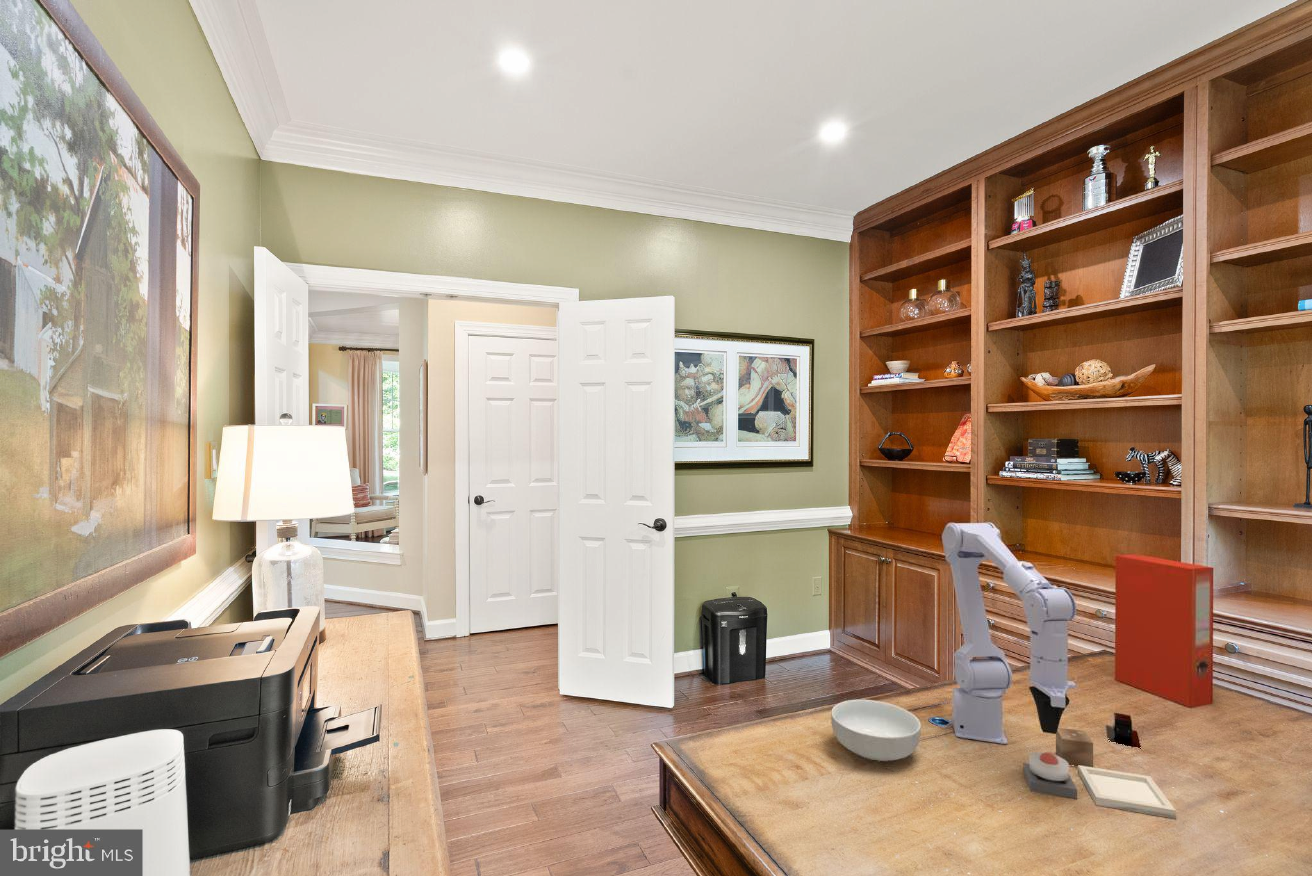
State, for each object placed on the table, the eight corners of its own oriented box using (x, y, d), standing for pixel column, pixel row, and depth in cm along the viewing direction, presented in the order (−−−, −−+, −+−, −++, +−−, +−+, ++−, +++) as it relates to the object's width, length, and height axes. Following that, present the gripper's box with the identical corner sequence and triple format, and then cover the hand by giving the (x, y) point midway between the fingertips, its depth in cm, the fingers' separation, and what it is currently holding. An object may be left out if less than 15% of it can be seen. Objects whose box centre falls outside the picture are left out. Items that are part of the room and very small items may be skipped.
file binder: (1137, 676, 163) (1137, 553, 163) (1213, 703, 147) (1213, 566, 147) (1114, 680, 161) (1114, 555, 161) (1189, 707, 144) (1188, 569, 144)
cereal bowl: (869, 781, 114) (869, 742, 114) (814, 740, 129) (814, 706, 129) (940, 763, 120) (940, 726, 120) (880, 726, 135) (879, 693, 135)
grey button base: (1030, 790, 110) (1030, 781, 110) (1022, 770, 117) (1022, 762, 117) (1077, 798, 108) (1077, 789, 108) (1066, 778, 115) (1066, 769, 115)
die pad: (1096, 804, 106) (1096, 796, 106) (1078, 772, 116) (1078, 764, 116) (1175, 818, 102) (1175, 810, 102) (1150, 784, 113) (1150, 776, 113)
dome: (1033, 786, 111) (1033, 758, 111) (1026, 769, 116) (1026, 742, 116) (1072, 793, 109) (1072, 764, 109) (1064, 775, 114) (1064, 748, 114)
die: (1062, 764, 120) (1062, 738, 120) (1055, 752, 124) (1055, 726, 124) (1093, 769, 118) (1093, 742, 118) (1085, 756, 122) (1085, 730, 122)
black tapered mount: (1147, 756, 124) (1147, 732, 124) (1101, 746, 128) (1101, 723, 128) (1141, 731, 134) (1141, 710, 134) (1099, 723, 138) (1099, 702, 138)
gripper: (1086, 673, 104) (1086, 754, 104) (1064, 645, 118) (1064, 717, 118) (1037, 667, 107) (1037, 747, 107) (1021, 641, 120) (1021, 711, 120)
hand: (1048, 731), depth 113 cm, fingers closed
